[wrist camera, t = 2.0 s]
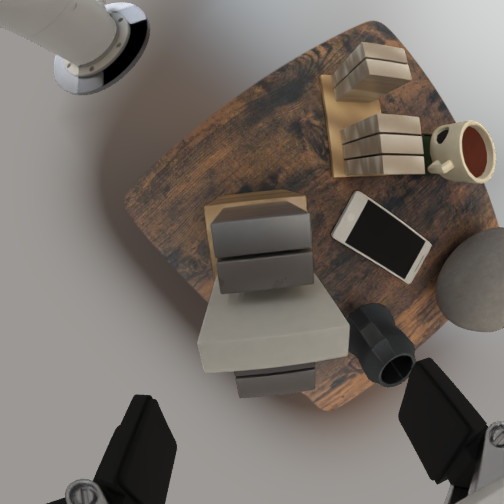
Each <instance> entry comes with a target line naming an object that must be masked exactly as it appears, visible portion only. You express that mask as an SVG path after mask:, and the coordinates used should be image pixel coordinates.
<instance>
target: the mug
mask: <svg viewBox="0 0 504 504" xmlns="http://www.w3.org/2000/svg"><path fill="white" fill-rule="evenodd" d="M346 320H347V322H348V323H349V325H350V331H349V347H348V350H349V351H350V352H351V353H352V354H354V355H355V356H357V358H358V359H359V362H360V364H361V366H362V368H363V370H364V372H365V374H366V375H367V377H368V379H369V380H371V381H372V382H375V383H379V384H380V385H382V386H384V387H394V386H397V385H399V384H401V383H402V382H404V381H405V380H406V379H407V378H408V377H409V375H410V371H411V368H412V367H413V366H414V364H415V363H416V359H415V356H414V353H415V348H414V345H413V343H412V342H411V341H410V340H409V339H408V337H407V336H406V335H405V334H404V333H403V332H402V331H401V330H400V329H398V328H397V327H396V326H395V322H394V319H393V317H392V315H391V313H390V311H389V310H388V309H387V308H386V307H385V306H383V305H381V304H367V305H364V306H361V307H358V308H357V309H356V310H355V311H354V312H352V313H351V314H350V315H349V317H348V318H347V319H346Z"/></svg>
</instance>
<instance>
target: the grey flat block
mask: <svg viewBox="0 0 504 504" xmlns="http://www.w3.org/2000/svg"><path fill="white" fill-rule="evenodd" d="M349 331H350V325H349V323H348V322H347V320H346V319H345V317H344V316H343V314H342V313H341V311H340V310H339V308H338V307H337V305H336V304H335V302H334V301H333V299H332V298H331V296H330V295H329V294H328V292H327V291H326V289H325V288H324V286H323V285H322V283H321V282H320V280H319V279H318V278H317V276H316V275H315V273H314V284H309V285H302V286H294V287H285V288H277V289H268V290H260V291H250V292H241V293H231V294H221V293H220V287H219V281H218V275H217V276H216V280H215V283H214V287H213V290H212V293H211V297H210V300H209V304H208V307H207V311H206V314H205V317H204V321H203V325H202V328H201V331H200V335H199V339H198V342H197V345H198V349H199V353H200V357H201V361H202V365H203V369H204V372H205V373H214V372H229V371H243V370H255V369H264V368H273V367H282V366H289V365H297V364H304V363H310V362H316V361H322V360H328V359H334V358H339V357H344V356H348V347H349Z"/></svg>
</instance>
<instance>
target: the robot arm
mask: <svg viewBox="0 0 504 504" xmlns="http://www.w3.org/2000/svg"><path fill="white" fill-rule="evenodd" d="M105 1H106V0H0V27H1V28H4V29H7V30H9V31H11V32H14V33H16V34H18V35H20V36H22V37H24V38H26V39H28V40H30V41H32V42H34V43H36V44H38V45H40V46H42V47H44V48H45V49H47V50H49V51H51V52H53V53H55V54H56V55H58V56H60V57H62V58H63V62H64V66H65V68H66V70H67V71H68V72H69V73H70V74H72V75H74V76H77V77H88V76H91V75H94V74H97V73H99V72H101V71H102V70H104V69H105V68H107V67H108V66H109V65H111V64H112V63H113V62H114V61H115V60H116V59H117V58H118V57H119V56H120V54H121V53H122V51H123V50H124V48H125V47H126V45H127V43H128V40H129V37H130V25H129V22H128V21H127V19H126V18H125V17H124V16H123V15H121V14H119V13H114V12H111V13H108V12H107V11H106V7H105V6H104V5H105ZM398 417H399V421H400V423H401V425H402V426H403V428H404V430H405V432H406V434H407V436H408V437H409V439H410V441H411V443H412V445H413V447H414V449H415V451H416V452H417V454H418V456H419V458H420V460H421V462H422V464H423V466H424V468H425V470H426V471H427V474H428V475H429V477H430V479H431V480H435V482H436V484H439V483H441V482H443V481H445V480H447V479H448V480H449V482H450V484H451V485H450V488H449V491H448V494H447V497H446V500H445V503H444V504H504V421H497V422H494V423H493V424H491V425H490V426H489V427H488V426H487V425H486V422H485V421H484V420H483V418H482V417H481V416H480V415H479V413H478V412H477V411H476V410H475V409H474V407H473V406H472V405H471V404H470V403H469V401H468V400H467V399H466V398H465V396H464V395H463V394H462V393H461V392H460V390H459V389H458V388H457V387H456V386H455V385H454V383H452V381H451V380H450V379H449V378H448V377H447V375H446V374H445V373H444V372H443V371H442V370H441V369H440V368H439V367H438V365H437V364H436V363H435V362H434V361H433V360H432V359H431V358H426V359H423V360H420V361H417V362H416V363H415V364H414V366H413V367H412V368H411V371H410V375H409V379H408V383H407V387H406V390H405V394H404V398H403V401H402V404H401V407H400V411H399V416H398ZM176 451H177V444H176V441H175V439H174V437H173V435H172V433H171V431H170V429H169V427H168V425H167V423H166V420H165V418H164V416H163V414H162V412H161V409H160V407H159V404H158V402H157V400H155V399H153V398H152V397H151V396H150V395H135V396H134V397H133V399H132V401H131V403H130V405H129V407H128V409H127V412H126V414H125V416H124V418H123V420H122V422H121V425H119V426H118V427H117V428H116V430H115V432H114V434H113V436H112V438H111V440H110V443H109V445H108V447H107V449H106V452H105V454H104V456H103V459H102V461H101V463H100V465H99V468H98V470H97V472H96V475H95V477H94V480H93V481H91V480H88V479H80V480H76V481H74V482H72V483H71V484H70V485H69V486H68V487H67V489H66V493H65V498H62V499H59V500H56V501H53V502H50V503H47V504H165V501H166V496H167V492H168V487H169V482H170V478H171V473H172V469H173V464H174V460H175V455H176Z"/></svg>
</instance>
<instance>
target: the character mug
mask: <svg viewBox="0 0 504 504" xmlns="http://www.w3.org/2000/svg"><path fill="white" fill-rule="evenodd" d="M422 134H423V135H425V136H421V137H422V142H423V152H424V154H421V155H409V156H423V157H424V165H425V174H419V175H420V176H430V175H437V174H440V175H441V176H442V177H443V178H445V179H447V180H452V181H460V182H471V183H485V182H487V181H489V180H490V178H491V177H492V175H493V174H494V170H495V166H496V152H495V148H494V144H493V140H492V138H491V136H490V135H489V133H488V131H487V130H486V129H485V128H484V127H483V125H482V124H480V123H478V122H476V121H465V122H459V123H454V124H448V125H443V126H440V127H438V128H436V129H435V130H434V132H433V134H424V133H422Z"/></svg>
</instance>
